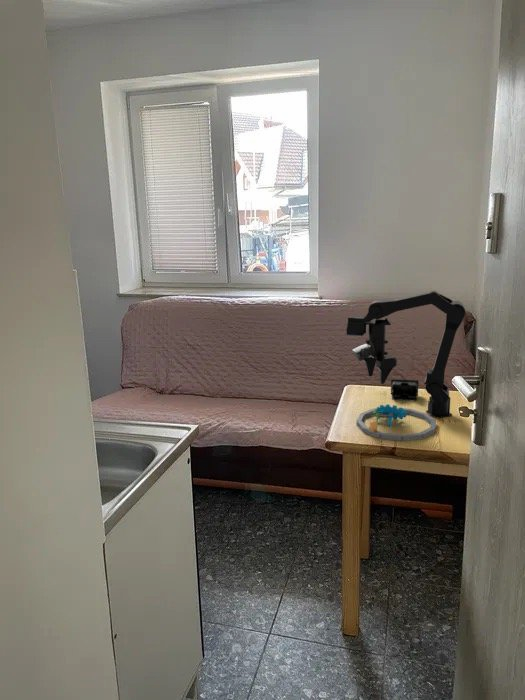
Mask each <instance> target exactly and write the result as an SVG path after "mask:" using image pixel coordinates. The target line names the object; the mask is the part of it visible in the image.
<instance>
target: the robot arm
mask: <svg viewBox="0 0 525 700" xmlns="http://www.w3.org/2000/svg"><path fill="white" fill-rule="evenodd" d="M428 305H433V306H434V307H436V308H437V309H438V310H439V311H441V312H443V313H444V314H445V323H444V329H443V333H442V336H441V341H440V343H439V344H440V345H439V346H438V351H437V354H436V358H435V361H434V364H433V366H432V368H431V369H430V368H427V371H426V375H425V377H424V381H423V384H424V385H425V391H426V392H427V394H429V395H430V396H428V397H429V399H428V403H427V410H425V413H426V414H428V415H429V416H431V417H432V418H434V419H439V418H440V419H441V418H447V417H452V416H453V414H452V413H451V410H450V409H451V396H450V388H449V387H448V385H446V384H445V371H446V367H447V365H448V360H449V358H450V357H449V356H450V353H451V352H452V351H451V350H452V347H453V344H454V340H455V337H456V334H457V331H458V329H460V328H459V327H460V326H461V324H462V322H463V321H464V319H465V316H466V308H465V305H464V304H463V302H461V301H459V300H452V299H451V298H449V297H447V296H445V295H444V294H441V293H440V292H439V291H436V290H430V291H428V292H423V293H419V294H415V295H410V296H406V297H401V298H397V299H389V298H388V299H386V298H385V299H375V300H374V301H373V302H371V304H370V305H369V307H368V309H367V310H368V312H367V313H365V315H364V316H363V317H361V316H358V317H357V316H348V317H347V323H346V324H347V326H346V336H347V337H364V336H365V335H367V334H368V338H366V340H365V343H364V344H362V345H359V346H357V347H355V348H353V349H352V354H353V357H354V359H355V360H358V361H363V362H364V365H365V368H366V371H367V374H368V375H367V376H368V377H373V374H374V370H375V367H376V368H377V369H378V370H379V380H380V384H382V385H383V384H385V383H386V380H387V379H388V377H389V376H390V374H391V372H392V370H393V369H394V368H395V367H397V366H398V359H397V358H396V357H394V356H393V355H388V351H386V344H389V341H388V339H386V329H387V328H386V326H391V325H392V321H391V320H390V319H389V318H388V316H389V315H392V314H394V313H396V312H400V311H404V310H409V309H415V308H419V307H423V306H428ZM383 318H384V319H383ZM373 320H375V321H373Z"/></svg>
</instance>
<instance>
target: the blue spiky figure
mask: <svg viewBox="0 0 525 700" xmlns="http://www.w3.org/2000/svg"><path fill="white" fill-rule="evenodd" d="M392 407H393V408H392ZM376 408H377V410H376V409H374V408H373V409H374V411H373V414H374V415H375V417H376V418H375V420H376V421H377V425H378V423H379V419H380V418H381V419H388V423H387V426H388V427H391V426H392V422H393V420H394V419H395V420H398V419H400V420H403V418H407V415H408V414H407V412H406V411H405V410H404V411H403V408H404V407H401V406H400V407H398V406H397V405H395V404H393V405H392V406H391V404H389V403H388V404H385V405H383V404H381V405H379V406H377V407H376ZM397 408H399V409H397ZM401 411H402V412H401ZM395 420H394V421H395Z"/></svg>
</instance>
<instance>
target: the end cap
mask: <svg viewBox="0 0 525 700" xmlns="http://www.w3.org/2000/svg"><path fill="white" fill-rule="evenodd" d="M390 395H391V400H393V399H394V400H393V401H395V400H397V401H410V400H414V402H416V400H417V397H418V396H419V380H418V379H398V378H397V379H396V378H391V380H390ZM417 401H418V400H417Z"/></svg>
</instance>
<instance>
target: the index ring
mask: <svg viewBox="0 0 525 700" xmlns="http://www.w3.org/2000/svg"><path fill="white" fill-rule="evenodd" d="M391 407H392V408H393V406H391ZM399 408H400V407H397V409H399ZM402 408H403V411H404V410H405V411H406V412H407V414H406V415H411V416H413V417H417V418H420V419H423V420H424V421H425V420H426V423H428V424H429V425H430V426H429V428H426V429H424V430H423V431H419V432H414V433H413V432H412V433H404V434H401V433H400V434H399V433H390V432H383V431H379V430H378V424H377V421H376V419H373V420H372V419H371V420H369V427H368V426H367V425H366V424H365V423H364V420H365V419H366V418H368V417H369V418H370V417H371V416H374V415H375V414H373V411H374V409H376V410H377V407H376V408H375V407H374V408H371V409H369V410H366V411H362V412H361V413H359V415H358V417H357V419H356V426H357V427H358V428H359V430H360V431H361V432H363V433H364V434H367V435H369V436H372V437H375V438H377V439H381V440H382V439H383V440H390V441H397V442H398V441H400V442H407V441H414V440H415V441H416V440H423V439H426V438H427V437H429V436H432V435H434V434H435V433H436V427H437V420H436V418H434V417H433V416H432V415H430V414H429V413H427V412H423V411H419V410H417V409H416V410H415V409H414V408H413V409H412V408H407V407H402ZM401 412H402V411H401ZM406 440H407V441H406Z"/></svg>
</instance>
